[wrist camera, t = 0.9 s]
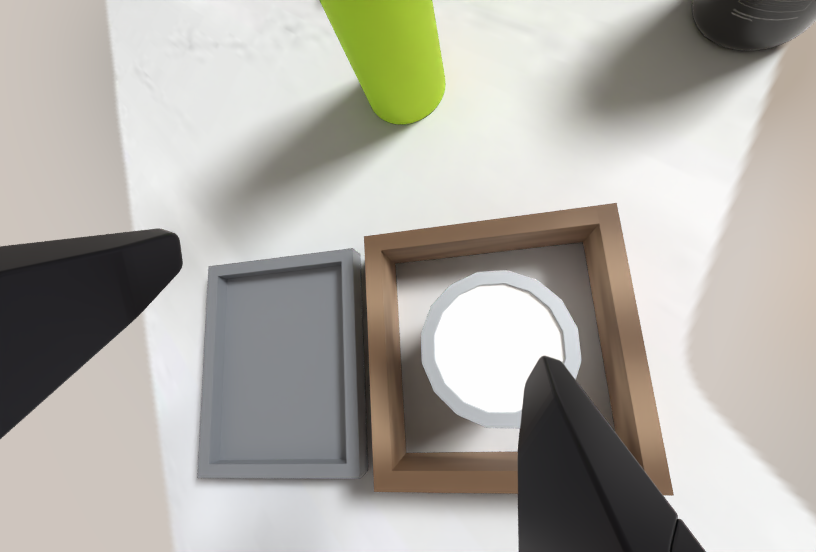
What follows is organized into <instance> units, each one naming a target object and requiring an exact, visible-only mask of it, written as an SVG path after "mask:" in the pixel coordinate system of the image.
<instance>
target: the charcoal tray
mask: <svg viewBox="0 0 816 552" xmlns="http://www.w3.org/2000/svg"><path fill="white" fill-rule="evenodd" d="M367 471H368V454H367V427H366V399H365V372H364V345H363V317H362V290H361V263H360V253H358V252H357V251H356V250H354V249H353V248H351V249H343V250H335V251H327V252H319V253H311V254H303V255H295V256H287V257H280V258H272V259H264V260H256V261H248V262H240V263H232V264H224V265H216V266H209V269H208V288H207V307H206V326H205V344H204V363H203V382H202V401H201V419H200V438H199V457H198V476H197V478H311V479H360V478H361V477H362V476H363V475H364V474H365V473H366V472H367Z"/></svg>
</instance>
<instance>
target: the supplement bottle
mask: <svg viewBox="0 0 816 552" xmlns="http://www.w3.org/2000/svg"><path fill="white" fill-rule="evenodd" d="M692 12H693V18H694V21H695V23H696V25H697V27H698V28H699V30H700V31H701V32H702V33H703V34H704V35H705V36H706V37H707V38H708V39H710V40H711V41H713V42H714V43H716V44H719V45H721V46H724V47H727V48H731V49H736V50H762V49H767V48H771V47H775V46H778V45H781V44H783V43H786V42H788V41H790V40H792V39H794V38H795V37H797V36H799V35H800V34H801V33H803V32H804V31H805V30H806V29H808V28H809V27H810V26H811V25H812V24H813V23H814V22H815V21H816V0H693V5H692Z"/></svg>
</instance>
